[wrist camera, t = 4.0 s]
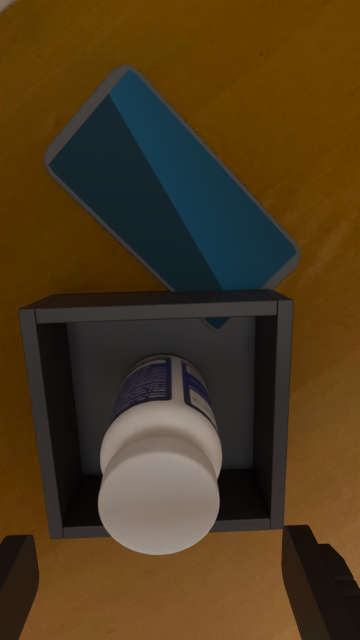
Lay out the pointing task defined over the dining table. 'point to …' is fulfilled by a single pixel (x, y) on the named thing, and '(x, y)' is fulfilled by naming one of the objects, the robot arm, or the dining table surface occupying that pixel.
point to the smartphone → (167, 194)
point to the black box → (140, 343)
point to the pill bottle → (160, 459)
